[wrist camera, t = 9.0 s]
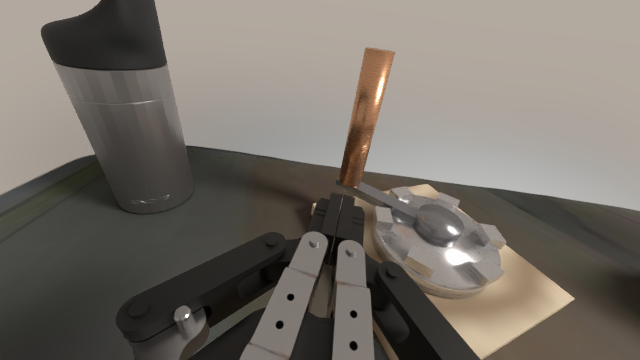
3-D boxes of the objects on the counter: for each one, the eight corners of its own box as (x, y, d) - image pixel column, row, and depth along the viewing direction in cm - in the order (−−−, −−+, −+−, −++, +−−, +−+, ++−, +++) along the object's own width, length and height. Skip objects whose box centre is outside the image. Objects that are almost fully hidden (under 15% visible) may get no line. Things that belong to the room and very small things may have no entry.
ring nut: (493, 240, 31) (613, 87, 20) (483, 332, 21) (714, 122, 10) (359, 177, 40) (392, 48, 29) (306, 220, 30) (327, 46, 19)
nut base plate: (311, 214, 34) (312, 203, 33) (423, 192, 43) (427, 183, 41) (413, 404, 18) (423, 395, 17) (562, 308, 26) (574, 298, 25)
